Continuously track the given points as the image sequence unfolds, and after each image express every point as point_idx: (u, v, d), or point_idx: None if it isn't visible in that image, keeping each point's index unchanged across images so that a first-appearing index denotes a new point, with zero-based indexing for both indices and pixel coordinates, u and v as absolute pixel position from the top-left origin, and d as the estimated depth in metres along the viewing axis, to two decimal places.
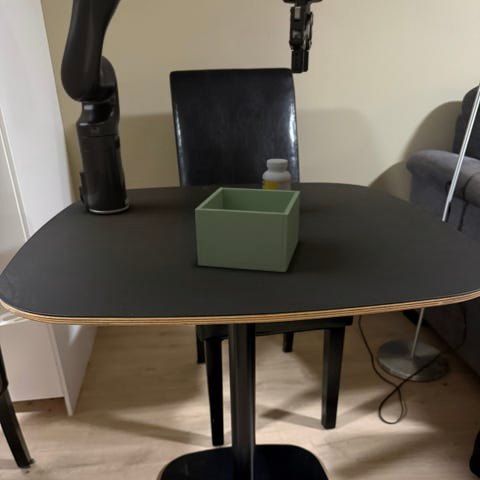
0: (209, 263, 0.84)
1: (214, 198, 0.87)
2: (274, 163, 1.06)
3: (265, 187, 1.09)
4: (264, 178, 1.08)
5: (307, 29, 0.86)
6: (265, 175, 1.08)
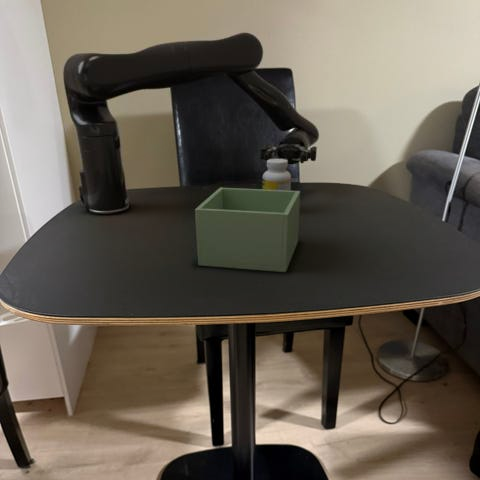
0: (209, 263, 0.84)
1: (214, 198, 0.87)
2: (274, 163, 1.06)
3: (265, 187, 1.09)
4: (264, 178, 1.08)
5: None
6: (265, 175, 1.08)
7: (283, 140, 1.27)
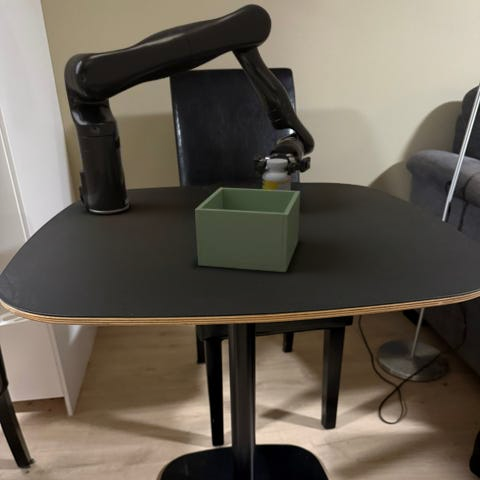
0: (209, 263, 0.84)
1: (214, 198, 0.87)
2: (274, 163, 1.06)
3: (265, 187, 1.09)
4: (264, 178, 1.08)
5: None
6: (265, 175, 1.08)
7: (274, 149, 1.16)
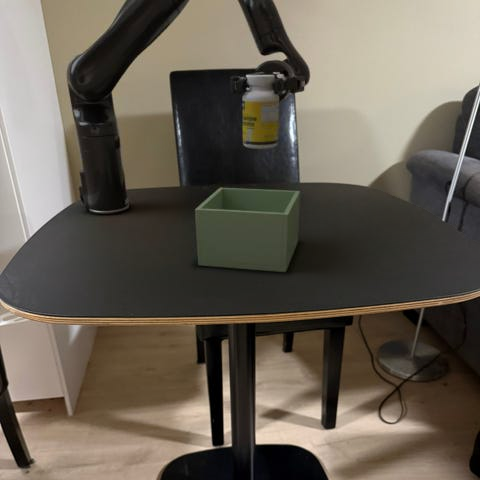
0: (209, 263, 0.84)
1: (214, 198, 0.87)
2: (257, 77, 0.81)
3: (245, 111, 0.84)
4: (244, 99, 0.83)
5: (281, 93, 0.87)
6: (245, 95, 0.83)
7: (259, 68, 0.91)
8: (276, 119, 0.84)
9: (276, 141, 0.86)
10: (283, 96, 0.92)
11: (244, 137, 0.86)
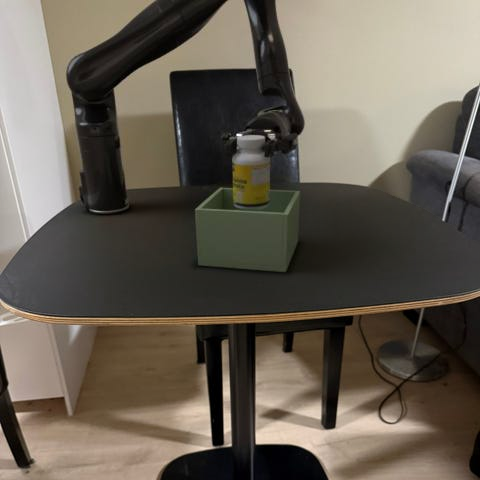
0: (209, 263, 0.84)
1: (214, 198, 0.87)
2: (246, 140, 0.78)
3: (235, 173, 0.81)
4: (234, 161, 0.80)
5: None
6: (235, 157, 0.80)
7: (250, 124, 0.88)
8: (267, 181, 0.82)
9: (268, 202, 0.84)
10: None
11: (234, 198, 0.83)
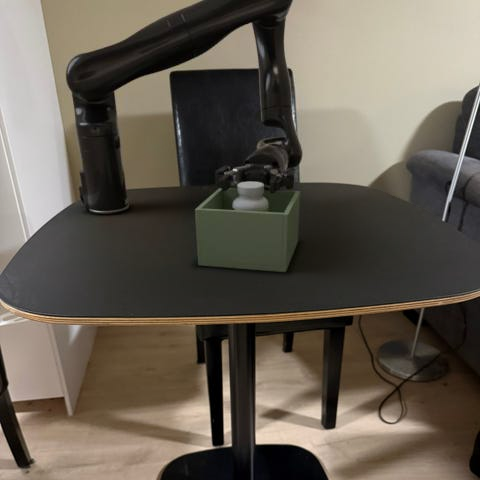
0: (209, 263, 0.84)
1: (214, 198, 0.87)
2: (246, 188, 0.82)
3: None
4: (234, 207, 0.84)
5: None
6: (235, 203, 0.84)
7: (249, 158, 0.91)
8: None
9: None
10: None
11: None
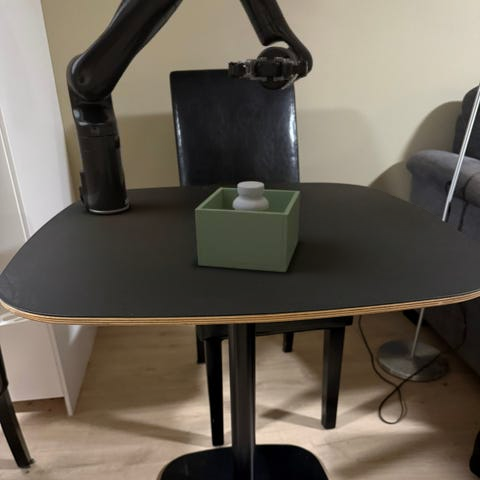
0: (209, 263, 0.84)
1: (214, 198, 0.87)
2: (246, 188, 0.82)
3: None
4: (234, 207, 0.84)
5: None
6: (235, 203, 0.84)
7: (261, 54, 0.92)
8: None
9: None
10: (285, 82, 0.93)
11: None
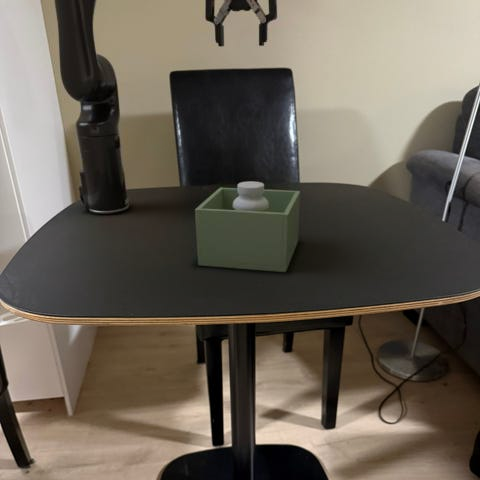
0: (209, 263, 0.84)
1: (214, 198, 0.87)
2: (246, 188, 0.82)
3: None
4: (234, 207, 0.84)
5: (259, 5, 0.96)
6: (235, 203, 0.84)
7: None
8: None
9: None
10: None
11: None
